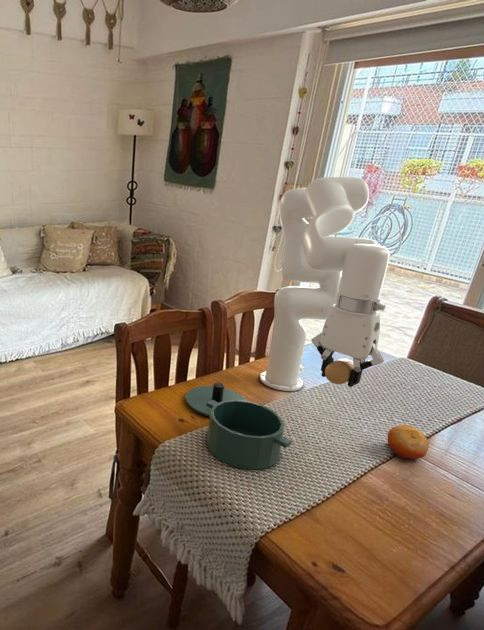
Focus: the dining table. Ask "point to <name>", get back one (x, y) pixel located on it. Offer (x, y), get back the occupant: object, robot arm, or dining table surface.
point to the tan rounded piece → (339, 371)
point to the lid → (210, 397)
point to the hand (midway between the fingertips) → (338, 379)
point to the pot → (245, 434)
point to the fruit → (407, 442)
